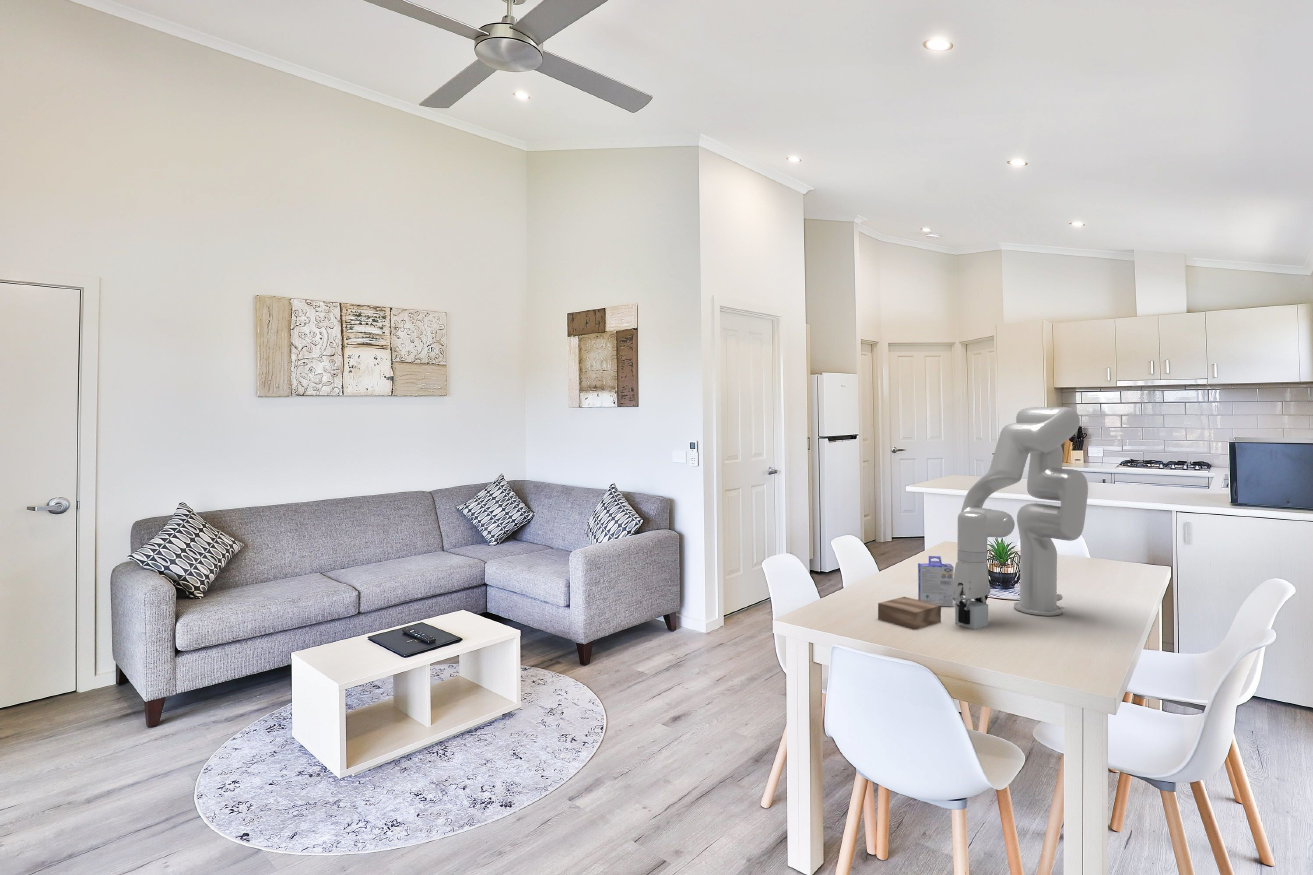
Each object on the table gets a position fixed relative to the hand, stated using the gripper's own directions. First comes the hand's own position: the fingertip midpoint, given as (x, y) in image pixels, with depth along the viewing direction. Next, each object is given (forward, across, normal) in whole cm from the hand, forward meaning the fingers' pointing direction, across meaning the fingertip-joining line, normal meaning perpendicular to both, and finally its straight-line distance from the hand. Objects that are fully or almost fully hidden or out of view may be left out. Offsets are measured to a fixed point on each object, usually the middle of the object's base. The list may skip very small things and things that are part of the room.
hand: (971, 620), depth 194 cm
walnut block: (+2, +11, -12) cm, 16 cm away
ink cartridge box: (+1, -10, -19) cm, 22 cm away
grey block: (+1, 0, 0) cm, 1 cm away
